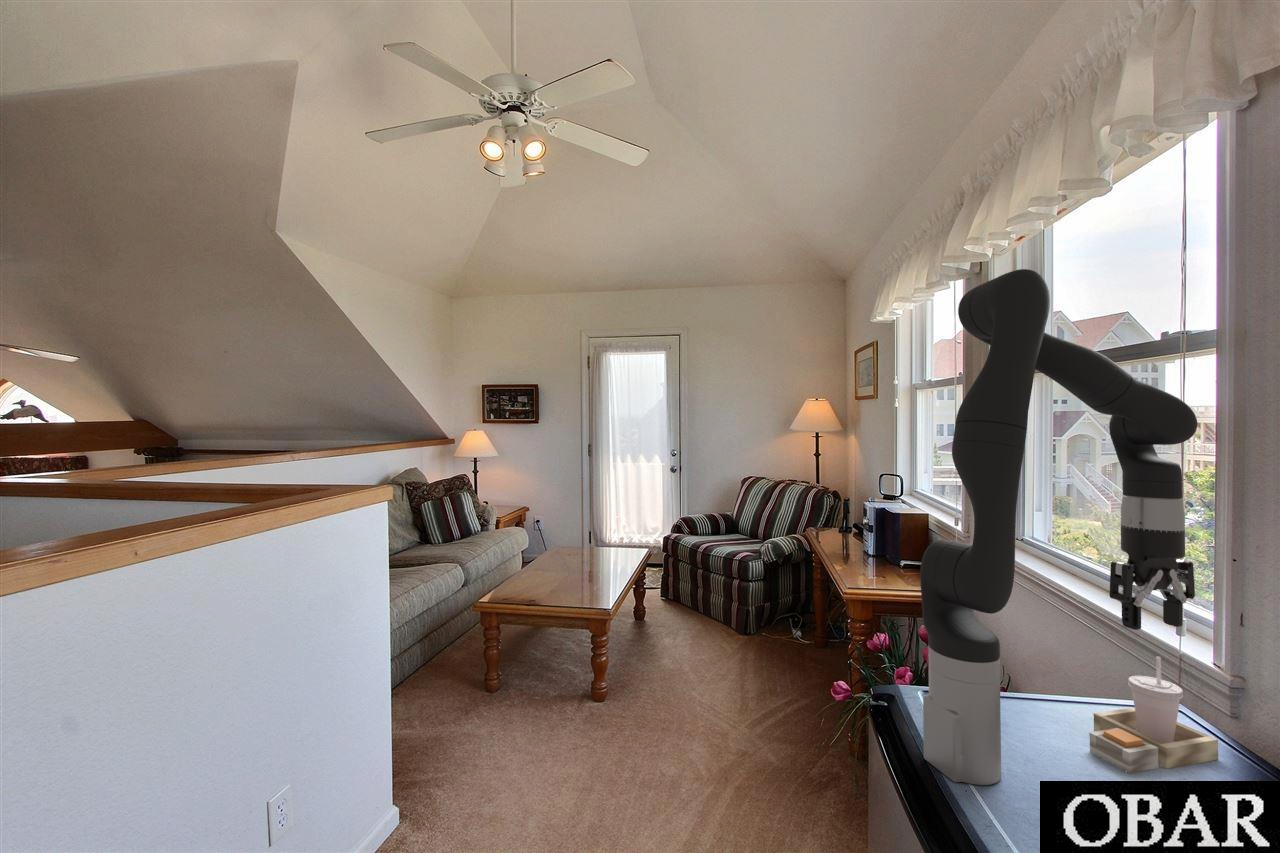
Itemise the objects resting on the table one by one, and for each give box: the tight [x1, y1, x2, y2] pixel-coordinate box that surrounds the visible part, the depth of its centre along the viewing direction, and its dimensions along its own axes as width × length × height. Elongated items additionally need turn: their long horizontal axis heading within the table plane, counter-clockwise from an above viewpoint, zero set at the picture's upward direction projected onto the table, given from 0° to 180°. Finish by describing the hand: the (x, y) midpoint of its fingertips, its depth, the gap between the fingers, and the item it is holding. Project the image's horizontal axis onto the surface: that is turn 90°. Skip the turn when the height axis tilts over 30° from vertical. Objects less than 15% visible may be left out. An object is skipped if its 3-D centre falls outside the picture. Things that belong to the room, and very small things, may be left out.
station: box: [1089, 706, 1219, 774], centre depth 86 cm, size 17×10×3 cm, turn 103°
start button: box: [1104, 729, 1143, 748], centre depth 83 cm, size 3×3×2 cm
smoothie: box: [1127, 655, 1184, 744], centre depth 87 cm, size 6×6×14 cm
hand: (1152, 626), depth 87 cm, fingers open, 8 cm apart
